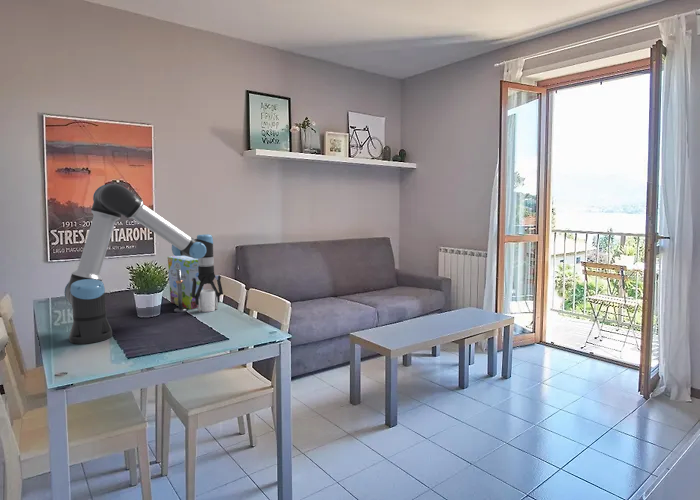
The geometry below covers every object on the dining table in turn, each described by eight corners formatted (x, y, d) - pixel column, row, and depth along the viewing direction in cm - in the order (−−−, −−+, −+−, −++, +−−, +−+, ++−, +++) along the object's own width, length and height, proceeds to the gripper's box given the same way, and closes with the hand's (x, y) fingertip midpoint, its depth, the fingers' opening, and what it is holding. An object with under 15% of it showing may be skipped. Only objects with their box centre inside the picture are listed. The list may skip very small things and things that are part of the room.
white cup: (219, 309, 230) (218, 290, 228) (207, 313, 223) (206, 293, 222) (208, 307, 234) (208, 288, 233) (196, 311, 227) (195, 291, 226)
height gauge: (188, 311, 226) (186, 270, 224) (175, 313, 223) (173, 271, 221) (185, 309, 231) (183, 268, 229) (173, 310, 228) (171, 269, 226)
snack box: (168, 303, 244) (166, 256, 241) (183, 300, 250) (181, 254, 247) (190, 309, 230) (187, 259, 227) (205, 306, 236) (203, 258, 233)
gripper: (224, 262, 234) (226, 305, 237) (182, 266, 224) (185, 311, 226) (228, 264, 228) (230, 308, 231) (186, 268, 217) (188, 314, 220)
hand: (208, 309), depth 228 cm, fingers open, 8 cm apart
